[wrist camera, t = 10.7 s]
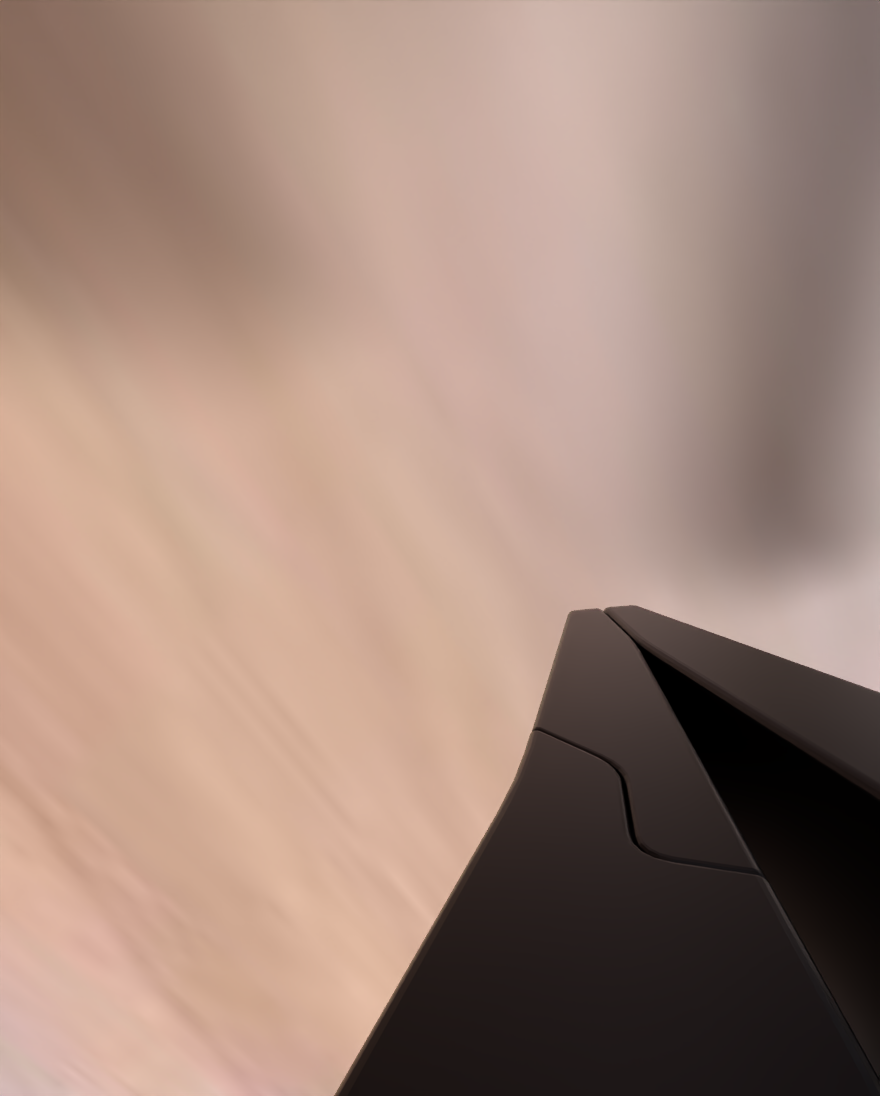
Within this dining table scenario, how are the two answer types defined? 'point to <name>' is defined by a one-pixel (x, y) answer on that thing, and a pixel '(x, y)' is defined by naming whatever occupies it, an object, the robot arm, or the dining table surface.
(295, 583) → the dining table surface
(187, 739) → the dining table surface
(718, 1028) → the robot arm
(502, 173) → the dining table surface
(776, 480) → the dining table surface
